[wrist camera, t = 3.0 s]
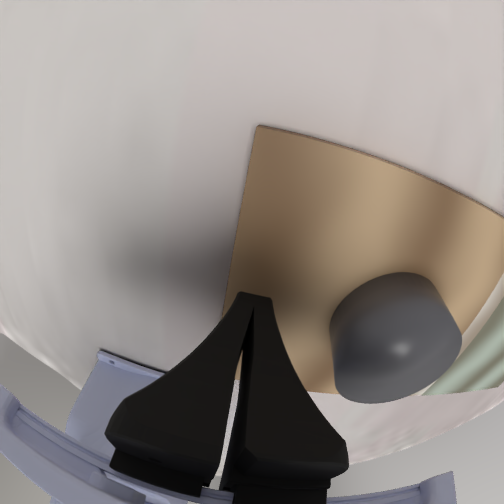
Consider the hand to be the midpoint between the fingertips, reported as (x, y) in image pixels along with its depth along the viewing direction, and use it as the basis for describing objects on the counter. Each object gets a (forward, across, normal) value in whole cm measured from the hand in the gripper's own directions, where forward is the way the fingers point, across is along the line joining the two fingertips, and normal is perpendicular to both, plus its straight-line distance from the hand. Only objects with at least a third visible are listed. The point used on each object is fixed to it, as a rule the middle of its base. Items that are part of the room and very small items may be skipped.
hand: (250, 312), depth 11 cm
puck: (+1, -7, 0) cm, 7 cm away
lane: (+2, -13, 0) cm, 13 cm away
